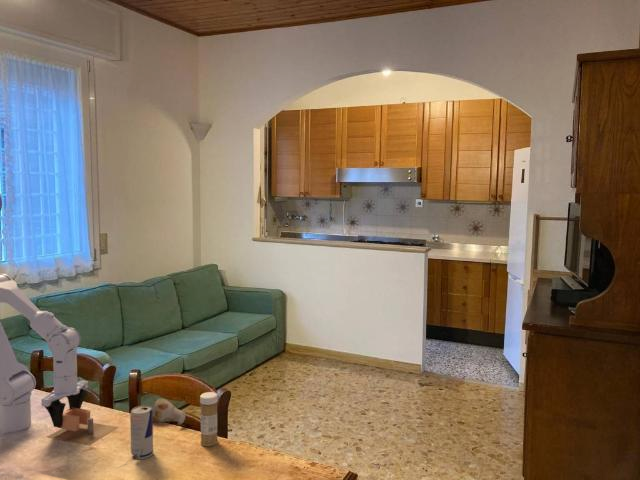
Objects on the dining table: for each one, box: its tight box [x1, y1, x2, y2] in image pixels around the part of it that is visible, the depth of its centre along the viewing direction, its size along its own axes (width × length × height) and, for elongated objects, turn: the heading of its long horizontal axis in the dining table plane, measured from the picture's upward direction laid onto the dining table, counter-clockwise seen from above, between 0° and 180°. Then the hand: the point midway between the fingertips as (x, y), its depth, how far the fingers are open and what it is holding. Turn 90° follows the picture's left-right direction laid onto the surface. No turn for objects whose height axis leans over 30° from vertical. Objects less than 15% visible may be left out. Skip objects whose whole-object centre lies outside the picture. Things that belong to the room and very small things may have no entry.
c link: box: [57, 407, 91, 431], centre depth 139 cm, size 6×5×4 cm
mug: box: [151, 398, 187, 426], centre depth 148 cm, size 8×10×10 cm
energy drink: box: [129, 405, 154, 461], centre depth 129 cm, size 5×5×12 cm
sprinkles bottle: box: [199, 391, 219, 447], centre depth 136 cm, size 5×5×14 cm
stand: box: [46, 417, 119, 446], centre depth 138 cm, size 14×11×6 cm
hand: (66, 422), depth 140 cm, fingers closed on c link, 5 cm apart
